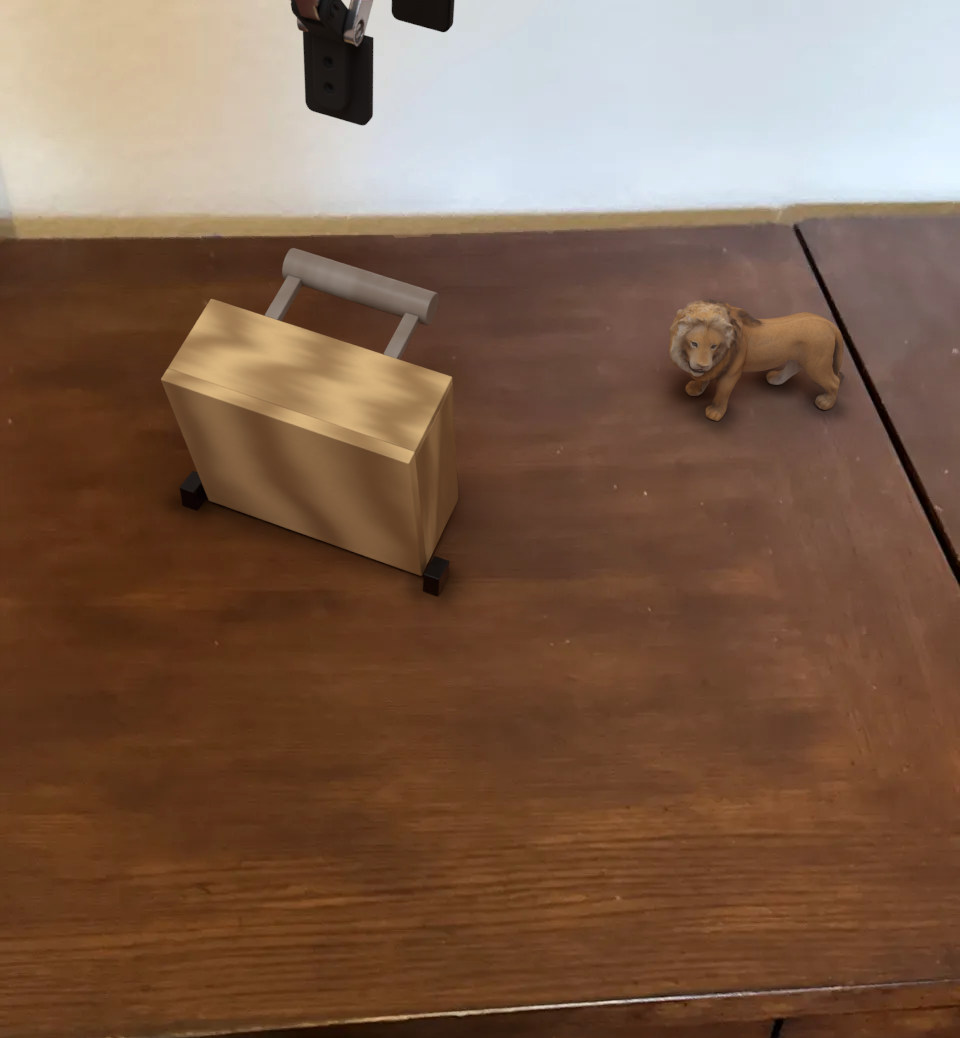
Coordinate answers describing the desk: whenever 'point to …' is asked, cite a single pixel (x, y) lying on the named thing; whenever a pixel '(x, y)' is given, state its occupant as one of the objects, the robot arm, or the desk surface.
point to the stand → (433, 575)
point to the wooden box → (322, 418)
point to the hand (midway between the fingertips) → (382, 67)
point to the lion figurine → (753, 350)
